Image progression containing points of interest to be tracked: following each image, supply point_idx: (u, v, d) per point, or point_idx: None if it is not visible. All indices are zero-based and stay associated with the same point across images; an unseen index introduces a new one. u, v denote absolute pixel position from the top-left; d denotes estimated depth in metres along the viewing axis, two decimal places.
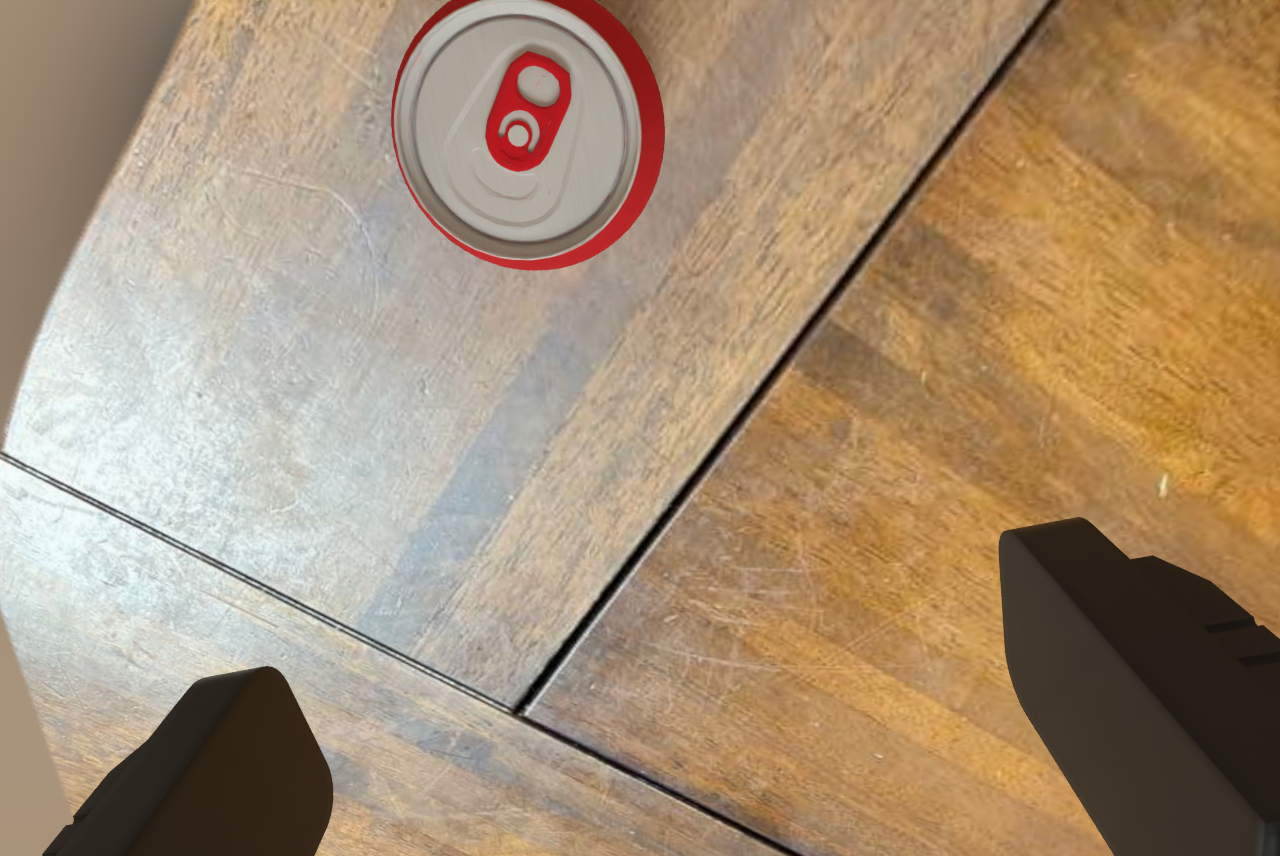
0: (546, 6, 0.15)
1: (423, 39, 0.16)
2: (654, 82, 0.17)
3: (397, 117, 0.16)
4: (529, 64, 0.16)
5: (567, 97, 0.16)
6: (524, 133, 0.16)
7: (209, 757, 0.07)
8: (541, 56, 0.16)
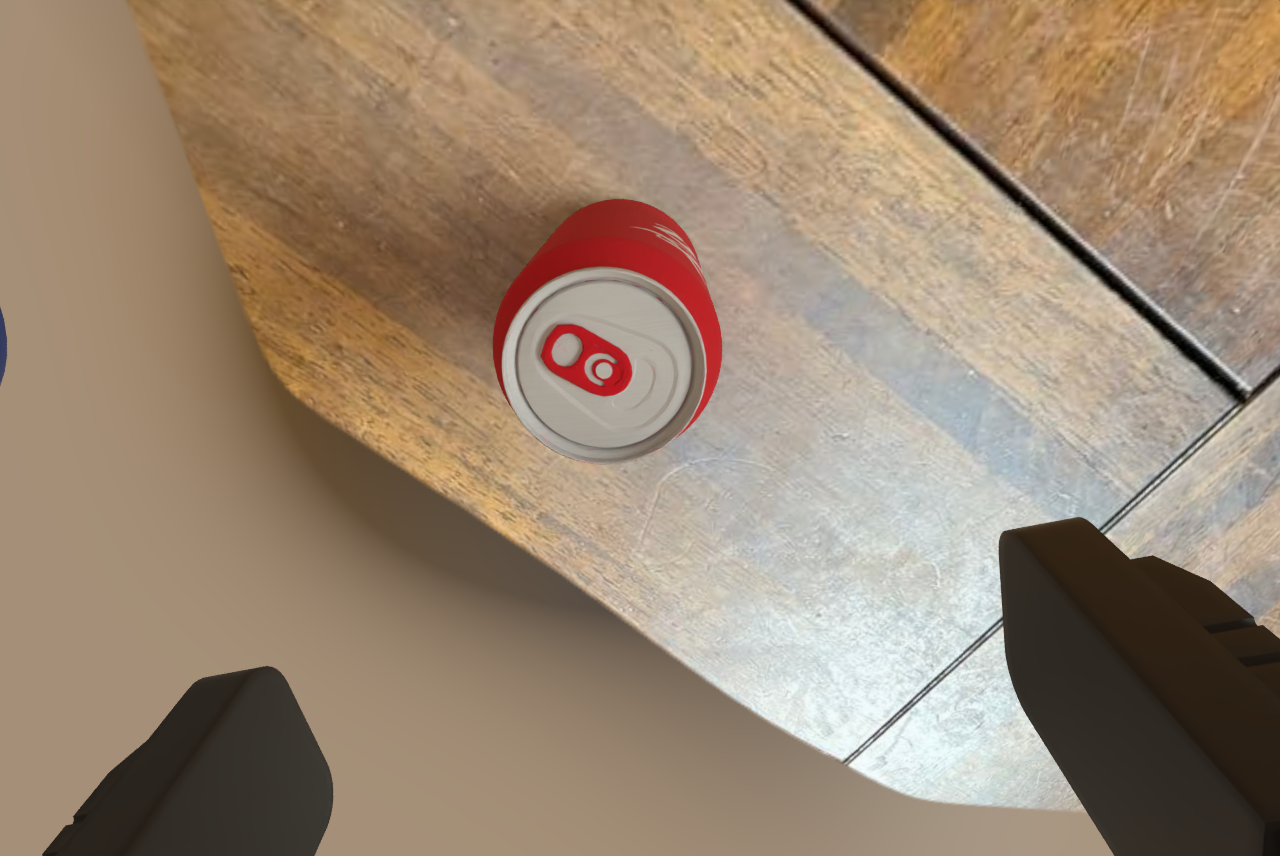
0: (508, 338, 0.19)
1: (531, 432, 0.20)
2: (569, 244, 0.20)
3: (586, 460, 0.21)
4: (550, 355, 0.20)
5: (576, 327, 0.19)
6: (601, 365, 0.20)
7: (210, 757, 0.07)
8: (544, 346, 0.19)
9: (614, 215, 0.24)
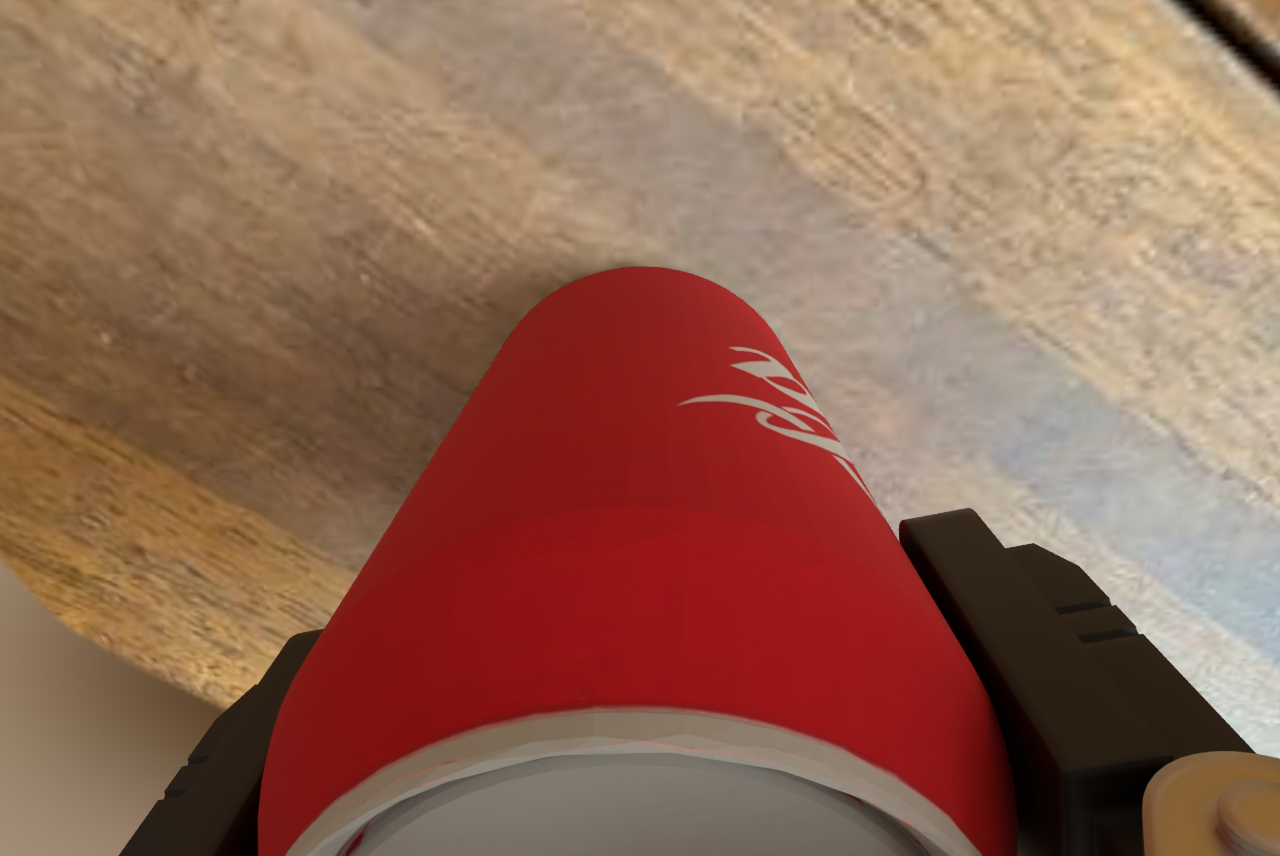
0: None
1: None
2: (483, 550, 0.05)
3: None
4: None
5: None
6: None
7: None
8: None
9: (630, 338, 0.10)
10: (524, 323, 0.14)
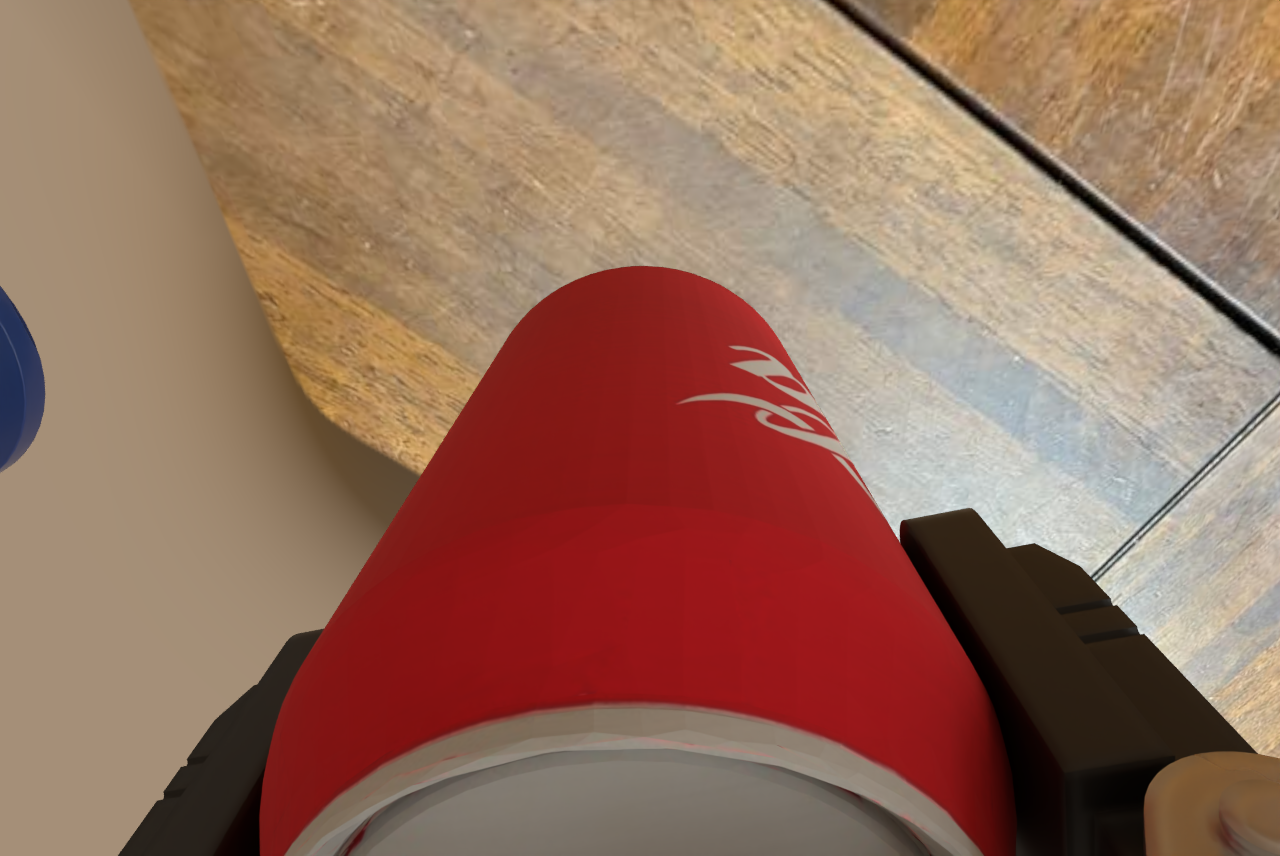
0: None
1: None
2: (483, 548, 0.05)
3: None
4: None
5: None
6: None
7: None
8: None
9: (630, 337, 0.10)
10: (524, 322, 0.14)
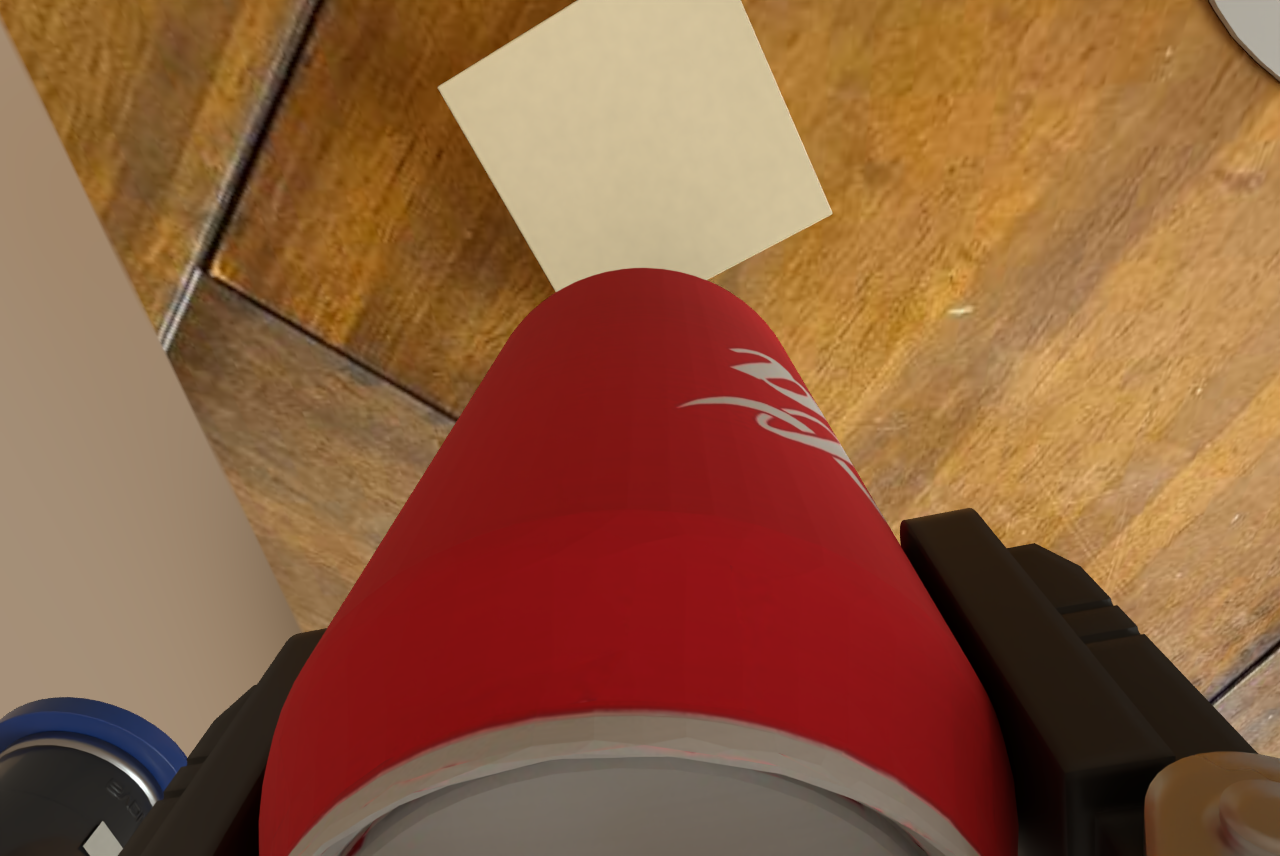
0: None
1: None
2: (483, 554, 0.05)
3: None
4: None
5: None
6: None
7: None
8: None
9: (631, 340, 0.10)
10: (524, 324, 0.14)
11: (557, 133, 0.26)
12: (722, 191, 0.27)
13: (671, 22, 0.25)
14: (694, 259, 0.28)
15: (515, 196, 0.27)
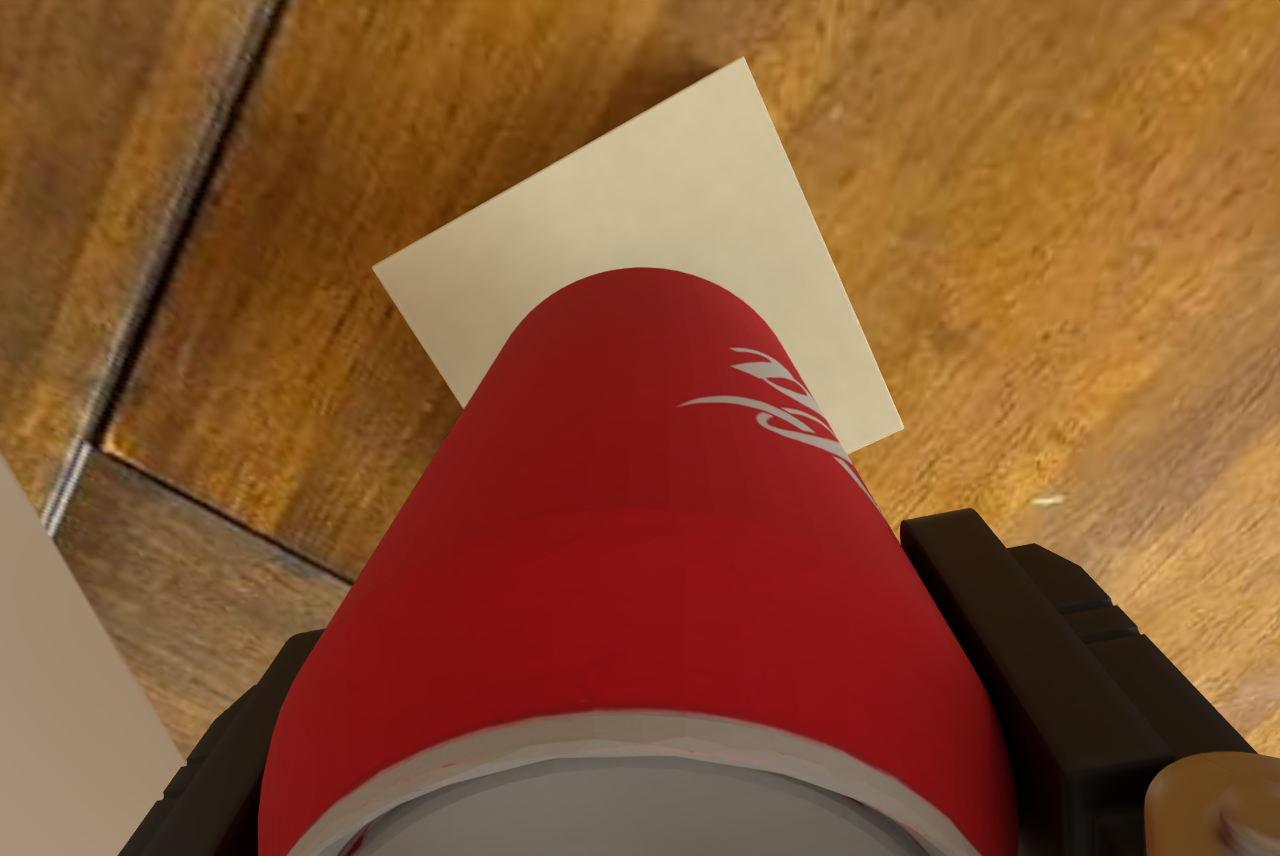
0: None
1: None
2: (483, 552, 0.05)
3: None
4: None
5: None
6: None
7: None
8: None
9: (630, 339, 0.10)
10: (524, 324, 0.13)
11: None
12: None
13: (691, 188, 0.18)
14: None
15: None
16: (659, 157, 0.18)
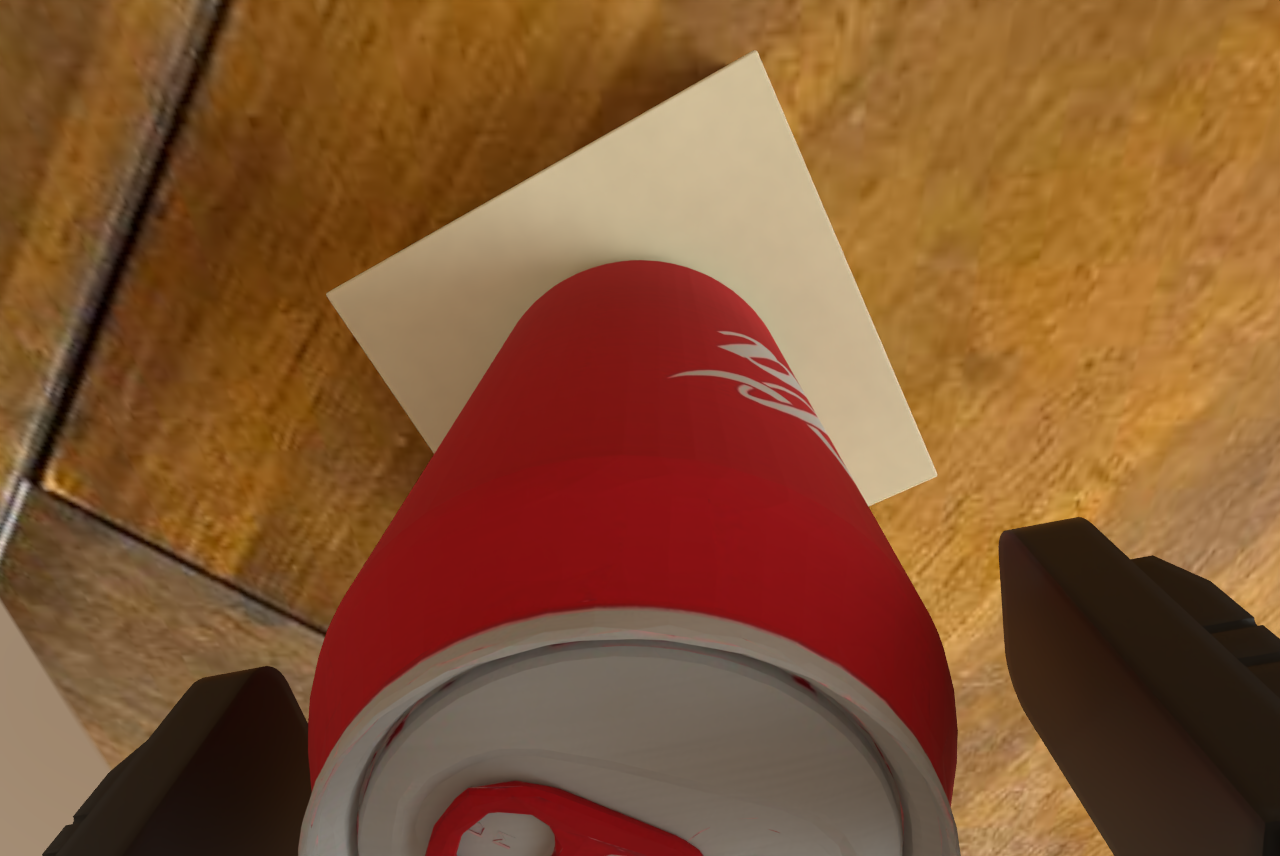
0: (309, 833, 0.06)
1: None
2: (502, 491, 0.06)
3: None
4: None
5: (530, 788, 0.06)
6: None
7: (210, 757, 0.07)
8: (430, 850, 0.06)
9: (628, 323, 0.11)
10: (530, 312, 0.15)
11: None
12: None
13: (695, 203, 0.16)
14: None
15: None
16: (658, 167, 0.15)
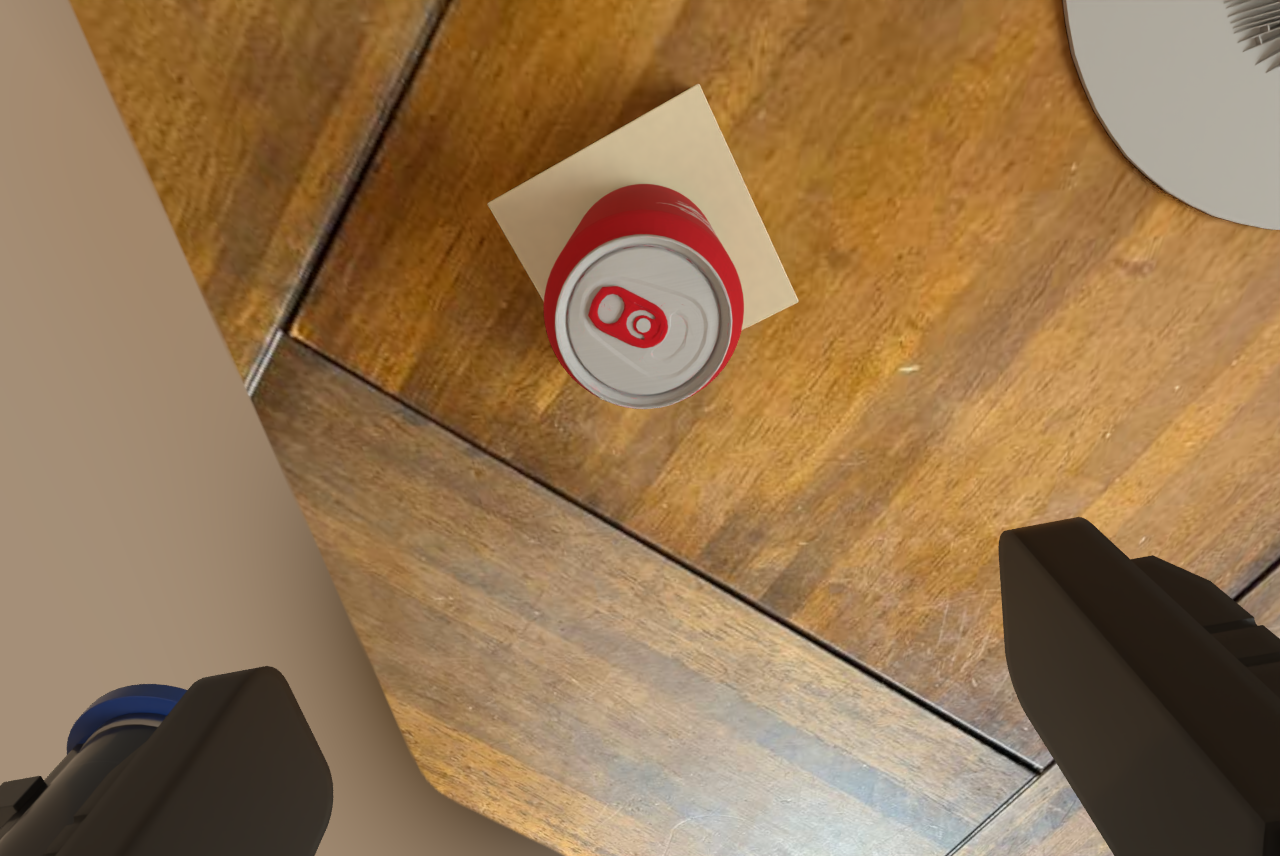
0: (560, 301, 0.22)
1: (582, 383, 0.23)
2: (607, 218, 0.23)
3: (631, 405, 0.24)
4: (596, 314, 0.23)
5: (618, 288, 0.22)
6: (641, 321, 0.23)
7: (210, 757, 0.07)
8: (591, 306, 0.22)
9: (640, 195, 0.27)
10: (593, 206, 0.31)
11: None
12: None
13: (671, 157, 0.32)
14: None
15: None
16: (652, 139, 0.32)
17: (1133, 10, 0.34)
